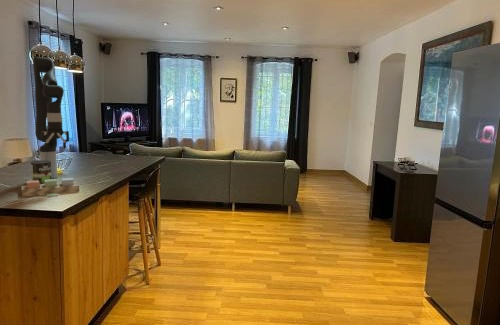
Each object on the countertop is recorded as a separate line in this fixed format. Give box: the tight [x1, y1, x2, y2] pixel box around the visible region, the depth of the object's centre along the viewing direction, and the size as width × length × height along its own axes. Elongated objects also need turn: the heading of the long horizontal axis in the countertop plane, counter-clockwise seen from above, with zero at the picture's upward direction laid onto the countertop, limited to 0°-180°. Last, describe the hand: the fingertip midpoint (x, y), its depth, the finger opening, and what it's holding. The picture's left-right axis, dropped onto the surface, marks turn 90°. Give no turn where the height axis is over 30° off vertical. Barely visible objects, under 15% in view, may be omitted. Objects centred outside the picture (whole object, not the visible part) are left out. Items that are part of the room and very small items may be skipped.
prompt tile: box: [46, 193, 59, 198], centre depth 195 cm, size 5×5×1 cm
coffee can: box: [30, 160, 52, 185], centre depth 215 cm, size 10×10×14 cm
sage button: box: [44, 178, 58, 187], centre depth 202 cm, size 6×6×4 cm
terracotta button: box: [26, 180, 39, 189], centre depth 197 cm, size 6×6×4 cm
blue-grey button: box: [61, 177, 75, 186], centre depth 206 cm, size 6×6×4 cm
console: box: [21, 181, 80, 198], centre depth 202 cm, size 27×10×4 cm, turn 121°
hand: (56, 149), depth 212 cm, fingers open, 7 cm apart
